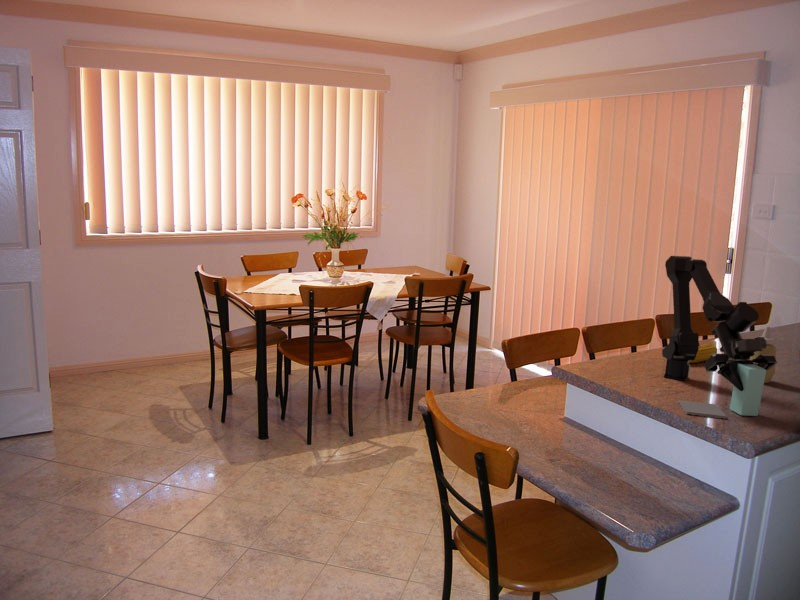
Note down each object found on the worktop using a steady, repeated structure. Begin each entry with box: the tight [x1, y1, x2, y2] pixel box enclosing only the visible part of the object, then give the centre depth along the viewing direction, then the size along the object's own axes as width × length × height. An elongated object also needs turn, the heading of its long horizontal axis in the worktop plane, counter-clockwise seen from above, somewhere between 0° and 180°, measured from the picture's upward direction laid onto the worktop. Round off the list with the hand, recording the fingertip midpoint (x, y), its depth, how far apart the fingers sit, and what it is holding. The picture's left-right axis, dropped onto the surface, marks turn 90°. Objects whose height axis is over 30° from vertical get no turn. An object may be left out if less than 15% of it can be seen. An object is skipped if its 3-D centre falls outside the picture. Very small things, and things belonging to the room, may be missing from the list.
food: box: [689, 343, 718, 364], centre depth 237 cm, size 21×6×6 cm, turn 125°
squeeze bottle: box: [750, 326, 777, 384], centre depth 216 cm, size 8×8×18 cm
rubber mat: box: [678, 399, 727, 420], centre depth 184 cm, size 10×10×1 cm
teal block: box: [729, 364, 766, 417], centre depth 182 cm, size 5×5×13 cm
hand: (751, 390), depth 181 cm, fingers closed on teal block, 5 cm apart
